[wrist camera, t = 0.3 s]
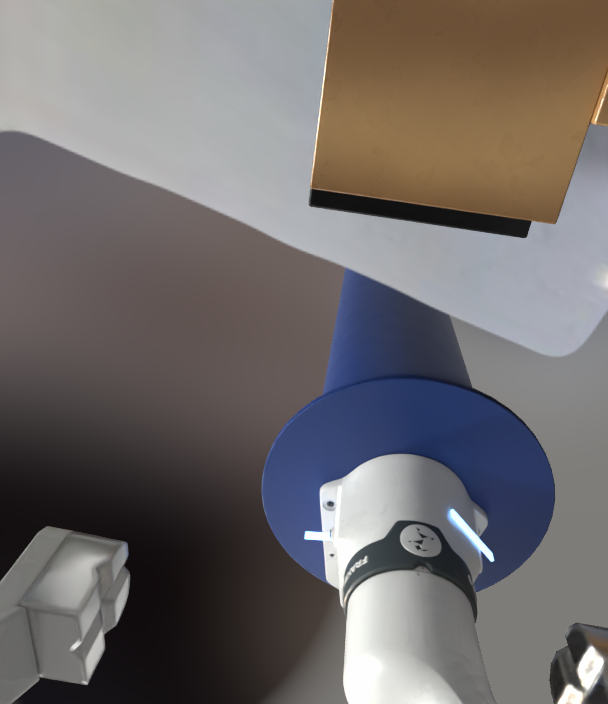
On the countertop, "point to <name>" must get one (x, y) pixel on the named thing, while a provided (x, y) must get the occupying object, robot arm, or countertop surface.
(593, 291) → the countertop surface
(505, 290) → the countertop surface
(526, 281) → the countertop surface
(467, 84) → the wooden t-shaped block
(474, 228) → the teal box with label
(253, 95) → the countertop surface
